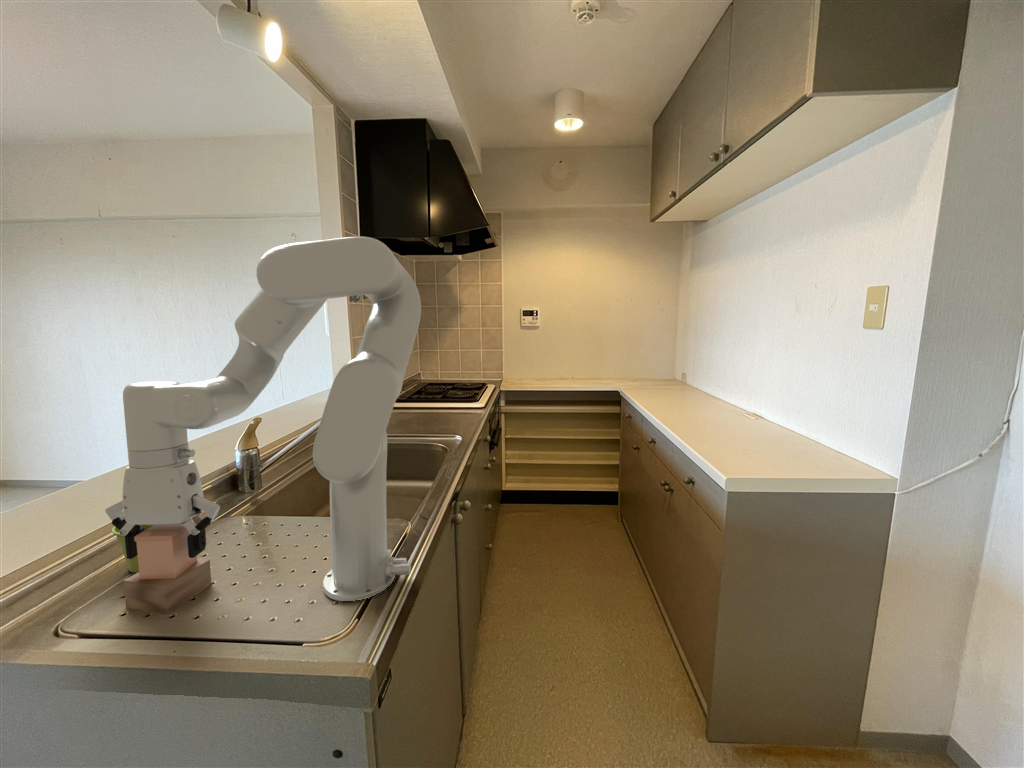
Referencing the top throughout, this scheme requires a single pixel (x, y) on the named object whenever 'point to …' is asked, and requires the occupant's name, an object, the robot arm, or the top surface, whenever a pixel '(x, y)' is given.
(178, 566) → the peach lipped block
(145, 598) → the walnut box
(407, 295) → the robot arm
